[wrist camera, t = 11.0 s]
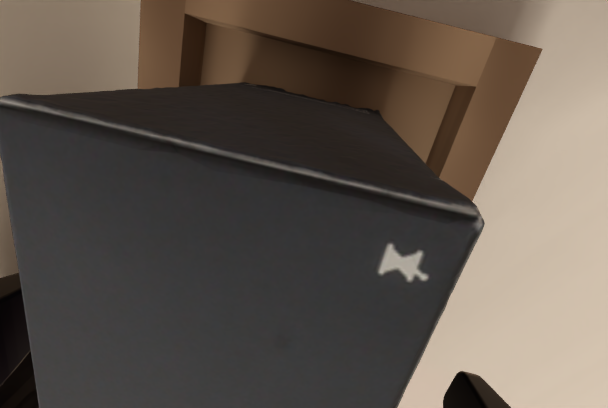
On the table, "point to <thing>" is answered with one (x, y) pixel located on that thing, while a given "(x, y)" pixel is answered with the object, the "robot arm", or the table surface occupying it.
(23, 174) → the small box
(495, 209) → the table surface
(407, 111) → the walnut holder
